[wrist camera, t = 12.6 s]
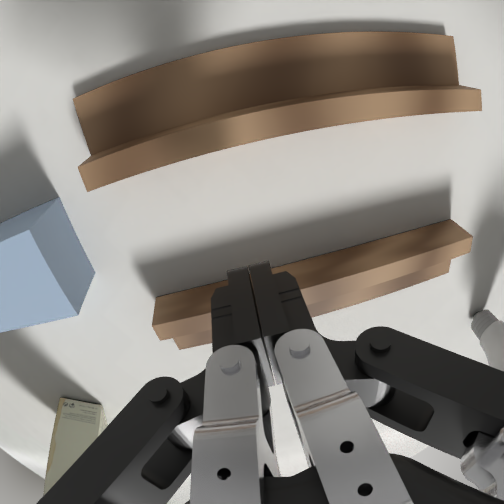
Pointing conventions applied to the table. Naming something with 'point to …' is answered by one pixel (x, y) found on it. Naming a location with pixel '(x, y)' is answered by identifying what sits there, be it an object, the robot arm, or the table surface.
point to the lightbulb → (490, 337)
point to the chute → (273, 125)
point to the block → (41, 268)
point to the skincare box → (72, 436)
